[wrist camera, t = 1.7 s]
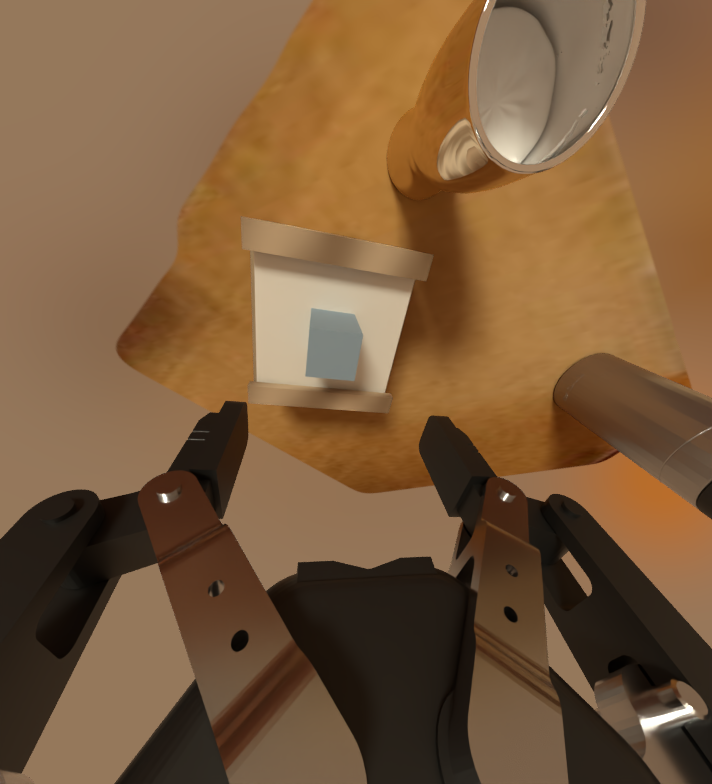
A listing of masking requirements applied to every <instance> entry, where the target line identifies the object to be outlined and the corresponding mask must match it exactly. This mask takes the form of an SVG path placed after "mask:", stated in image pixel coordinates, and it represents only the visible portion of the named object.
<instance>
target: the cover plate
mask: <svg viewBox="0 0 712 784" xmlns="http://www.w3.org/2000/svg"><path fill="white" fill-rule="evenodd" d="M254 275H255V323H256V372H257V382H265V383H277V384H288V385H299V386H311V387H322V388H334V389H345V390H356V391H368V392H379V393H385V389H386V386H387V382H388V378H389V374H390V371H391V367H392V363H393V359H394V355H395V352H396V348H397V344H398V340H399V337H400V333H401V329H402V325H403V322H404V318H405V314H406V310H407V306H408V303H409V299H410V295H411V291H412V288H413V284H414V280H415V279H409V278H403V277H398V276H392V275H386V274H381V273H375V272H369V271H364V270H358V269H353V268H347V267H341V266H336V265H330V264H324V263H319V262H313V261H307V260H302V259H296V258H291V257H285V256H279V255H274V254H268V253H262V252H257V251H254Z"/></svg>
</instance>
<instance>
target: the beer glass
mask: <svg viewBox="0 0 712 784" xmlns="http://www.w3.org/2000/svg"><path fill="white" fill-rule="evenodd" d="M645 10H646V0H473V1H472V3H471V4H470V5H469V7H468V8H467V9H466V11H465V12H464V13H463V15H462V16H461V17H460V19H459V20H458V22H457V23H456V24H455V26H454V27H453V29H452V30H451V31H450V33H449V35H448V36H447V38H446V40H445V41H444V43H443V45H442V46H441V48H440V50H439V51H438V53H437V55H436V56H435V58H434V60H433V62H432V64H431V66H430V68H429V71H428V73H427V75H426V78H425V80H424V82H423V84H422V87H421V90H420V92H419V95H418V98H417V101H416V104H415V107H413V108H411V109H410V110H408V111H407V112H406V113H405V114H404V115H403V116H402V117H401V118H400V120H399V121H398V122H397V124H396V126H395V127H394V129H393V132H392V134H391V137H390V140H389V144H388V151H387V165H388V171H389V175H390V178H391V180H392V182H393V184H394V186H395V187H396V188H397V190H398V191H399V192H400V193H401V194H403V195H404V196H406V197H408V198H410V199H414V200H423V199H427V198H430V197H432V196H434V195H435V194H437V193H438V192H439V191H441V190H442V191H447V192H451V193H465V194H468V193H476V192H482V191H488V190H492V189H495V188H498V187H502V186H505V185H508V184H510V183H513V182H516V181H518V180H521V179H523V178H526V177H528V176H530V175H533V174H535V173H540V172H543V171H546V170H549V169H551V168H553V167H555V166H557V165H559V164H560V163H562V162H564V161H565V160H567V159H568V158H569V157H571V156H572V155H573V154H574V153H576V152H577V151H578V150H579V149H580V148H581V147H582V146H583V145H584V144H585V143H586V142H587V141H588V140H589V139H590V138H591V137H592V136H593V134H594V133H595V132H596V131H597V129H598V128H599V127H600V126H601V124H602V123H603V121H604V120H605V119H606V117H607V116H608V114H609V112H610V111H611V109H612V108H613V106H614V104H615V102H616V101H617V99H618V97H619V95H620V93H621V91H622V89H623V87H624V85H625V83H626V80H627V78H628V76H629V73H630V71H631V68H632V65H633V62H634V59H635V56H636V53H637V50H638V46H639V43H640V38H641V34H642V29H643V24H644V18H645Z"/></svg>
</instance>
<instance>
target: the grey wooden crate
mask: <svg viewBox="0 0 712 784" xmlns="http://www.w3.org/2000/svg"><path fill="white" fill-rule="evenodd" d="M241 234H242V249H245V250H250V258H251V295H252V332H253V369H254V381H250V382H249V384H248V403H253V404H266V405H280V406H294V407H308V408H321V409H335V410H349V411H363V412H377V413H389V410H390V406H391V403H392V399H393V397H392V395H391V393H379V392H368V391H356V390H345V389H334V388H322V387H311V386H299V385H288V384H277V383H265V382H257V372H256V323H255V275H254V251H257V252H262V253H268V254H274V255H279V256H285V257H291V258H296V259H302V260H307V261H313V262H319V263H324V264H330V265H336V266H341V267H347V268H353V269H358V270H364V271H369V272H375V273H381V274H386V275H392V276H398V277H403V278H409V279H415V280H420V281H427V277H428V274H429V270H430V267H431V263H432V260H433V256H434V255H432V254H428V253H423V252H418V251H414V250H409V249H405V248H400V247H395V246H390V245H385V244H380V243H375V242H370V241H365V240H360V239H355V238H350V237H345V236H340V235H335V234H330V233H325V232H320V231H315V230H310V229H305V228H300V227H295V226H290V225H285V224H280V223H275V222H270V221H265V220H259V219H253V218H247V217H241ZM415 280H414V283H415ZM413 287H414V284H413ZM412 291H413V288H412ZM412 291H411V294H412ZM410 298H411V295H410ZM409 302H410V299H409ZM408 306H409V303H408ZM408 306H407V309H408ZM406 313H407V310H406ZM405 317H406V314H405ZM404 321H405V318H404ZM403 324H404V322H403ZM402 328H403V325H402ZM401 332H402V329H401ZM400 336H401V333H400ZM399 339H400V337H399ZM398 343H399V340H398ZM397 347H398V344H397ZM396 351H397V348H396ZM395 354H396V352H395ZM394 358H395V355H394ZM393 362H394V359H393ZM392 366H393V363H392ZM391 369H392V367H391ZM390 373H391V371H390ZM389 377H390V374H389ZM388 381H389V378H388ZM387 384H388V382H387ZM386 388H387V386H386ZM385 392H386V389H385Z"/></svg>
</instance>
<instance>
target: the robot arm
mask: <svg viewBox="0 0 712 784" xmlns="http://www.w3.org/2000/svg"><path fill="white" fill-rule="evenodd" d="M554 400H555V403H556V404H557V405H558V406H559V407H560V408H562V409H563V410H564V411H566V412H567V413H568V414H570V415H571V416H572V417H574V418H575V419H576V420H578V421H579V422H580V423H582V424H583V425H584V426H586V427H587V428H588V429H590V430H591V431H592V432H594V433H595V434H597V435H598V436H599V437H601V438H602V439H603V440H605V441H606V442H607V443H609V444H610V445H611V446H613V447H614V448H615V449H617V450H618V451H620V452H621V453H622V454H624V455H625V456H626V457H628V458H629V459H630V460H632V461H633V462H634V463H636V464H637V465H639V466H640V467H641V468H643V469H644V470H645V471H647V472H648V473H649V474H651V475H652V476H653V477H655V478H656V479H658V480H659V481H660V482H662V483H663V484H665V485H666V486H668V487H669V488H670V489H671V490H673V491H674V492H675V493H677V494H678V495H679V496H681V497H682V498H684V499H685V500H686V501H688V502H689V503H690V504H692V505H693V506H694V507H696V508H697V509H699V510H700V511H701V512H703V513H704V514H705V515H707V516H708V517H709V518H711V519H712V398H711V397H708V396H706V395H703V394H701V393H699V392H697V391H694V390H692V389H690V388H687V387H685V386H683V385H680V384H678V383H676V382H673V381H671V380H669V379H666V378H664V377H662V376H659V375H657V374H655V373H652V372H650V371H648V370H645V369H643V368H641V367H639V366H636V365H634V364H631V363H629V362H627V361H624V360H622V359H620V358H617V357H615V356H613V355H610V354H605V353H602V354H595V355H591V356H589V357H586V358H584V359H582V360H580V361H579V362H577V363H576V364H574V365H573V366H572V367H570V368H569V369H568V370H567V371H566V372H565V373H564V374H563V376H562V377H561V378H560V380H559V381H558V383H557V385H556V388H555V391H554ZM247 440H248V414H247V403H246V402H236V401H225V403H224V405H223V406H222V408H221V410H220V412H219V413H209V414H207V415H206V416H205V417H203V418H202V419H200V420H199V421H198V423H197V424H196V426H195V428H194V429H193V432H192V433H191V434H190V436H189V438H188V440H187V441H186V442H185V444H184V446H183V447H182V449H181V450H180V452H179V454H178V455H177V457H176V459H175V460H174V462H173V463H172V465H171V467H170V468H169V470H168V471H167V472H166V473H163V474H161V475H158V476H156V477H155V478H153V479H151V480H150V481H149V482H147V483H146V484H145V485H144V486H143V488H142V489H141V490H140V491H138V492H134V493H131V494H126V495H122V496H117V497H113V498H108V499H104V500H99V498H98V496H97V495H96V494H95V493H94V492H92V491H89V490H72V491H66V492H63V493H60V494H57V495H54V496H52V497H49V498H47V499H45V500H43V501H42V502H40V503H38V504H37V505H35V506H34V507H32V508H31V509H30V510H28V511H27V512H26V513H25V514H24V515H23V516H22V517H21V518H20V519H19V520H18V521H17V522H16V523H15V524H14V526H13V527H12V528H11V529H10V530H9V531H8V532H7V533H6V534H5V535H4V536H3V537H2V538H1V539H0V784H34V782H33V781H32V780H31V779H30V777H28V776H26V775H24V774H21V773H22V771H23V769H24V767H25V765H26V763H27V761H28V760H29V757H30V756H31V754H32V751H33V750H34V748H35V745H36V744H37V741H38V740H39V738H40V736H41V734H42V732H43V730H44V727H45V726H46V724H47V722H48V720H49V718H50V716H51V714H52V712H53V710H54V708H55V706H56V704H57V702H58V700H59V698H60V696H61V694H62V692H63V690H64V688H65V686H66V684H67V682H68V680H69V678H70V676H71V674H72V672H73V670H74V668H75V666H76V664H77V662H78V660H79V658H80V656H81V654H82V652H83V650H84V648H85V646H86V644H87V643H88V641H89V639H90V637H91V635H92V633H93V631H94V629H95V627H96V625H97V623H98V621H99V619H100V616H101V615H102V613H103V611H104V609H105V607H106V604H107V603H108V601H109V599H110V597H111V595H112V593H113V591H114V589H115V587H116V585H117V583H118V581H119V579H120V577H121V575H122V574H126V573H128V572H132V571H135V570H138V569H140V568H143V567H147V566H150V565H153V564H155V563H158V566H159V569H160V572H161V575H162V578H163V581H164V585H165V588H166V591H167V594H168V597H169V599H170V603H171V606H172V609H173V611H174V615H175V618H176V621H177V624H178V627H179V630H180V633H181V636H182V639H183V642H184V645H185V648H186V651H187V654H188V657H189V660H190V663H191V666H192V669H193V672H194V675H195V678H196V679H195V680H194V681H193V682H192V684H191V685H190V686H189V688H188V689H187V690H186V692H185V693H184V694H183V696H182V697H181V698H180V699H179V701H178V702H177V703H176V704H175V706H174V707H173V708H172V710H171V711H170V712H169V714H168V715H167V716H166V718H165V719H164V720H163V721H162V723H161V724H160V725H159V727H158V728H157V729H156V730H155V732H154V733H153V734H152V736H151V737H150V738H149V740H148V741H147V742H146V744H145V745H144V746H143V747H142V749H141V750H140V751H139V753H138V754H137V755H136V756H135V758H134V759H133V760H132V762H131V763H130V764H129V766H128V767H127V768H126V769H125V771H124V772H123V773H122V775H121V776H120V777H119V778H118V780H117V781H116V782H115V784H712V649H711V648H710V646H709V645H708V644H707V643H706V642H705V641H704V640H703V639H702V638H701V637H700V636H699V634H698V633H697V632H696V631H695V630H694V629H693V628H692V627H691V626H690V624H689V623H688V622H687V621H686V620H685V619H684V618H683V617H682V615H681V614H680V613H679V612H678V611H677V610H676V609H675V608H674V607H673V606H672V604H671V603H670V602H669V601H668V600H667V599H666V598H665V597H664V596H663V595H662V593H661V592H660V591H659V590H658V589H657V588H656V587H655V586H654V585H653V584H652V582H651V581H650V580H649V579H648V578H647V577H646V576H645V575H644V573H643V572H642V571H641V570H640V569H639V568H638V567H637V566H636V565H635V563H634V562H633V561H632V560H631V559H630V558H629V557H628V556H627V555H626V554H625V553H624V551H623V550H622V549H621V548H620V547H619V546H618V545H617V544H616V543H615V541H614V540H613V539H612V538H611V537H610V536H609V535H608V534H607V533H606V532H605V530H604V529H603V528H602V527H601V526H600V525H599V524H598V523H597V521H596V520H595V519H594V518H593V517H592V516H591V515H590V514H589V513H588V511H586V509H584V508H583V507H582V506H581V505H580V504H578V503H577V502H576V501H574V500H572V499H571V498H568V497H566V496H564V495H560V494H552V495H550V496H549V498H548V499H547V500H546V501H545V502H542V501H539V500H535V499H532V498H528V497H526V496H525V494H524V493H523V491H522V490H521V489H519V487H517V486H516V485H515V484H513V483H512V482H510V481H508V480H506V479H504V478H500V477H497V476H496V475H495V473H494V472H493V470H492V469H491V468H490V466H489V465H488V464H487V462H486V461H485V460H484V458H483V457H482V455H481V454H480V453H478V450H477V449H476V447H475V446H473V443H472V442H471V440H470V439H469V438H468V436H467V435H466V434H465V433H463V432H462V431H461V430H460V429H458V428H456V427H455V426H454V424H453V423H452V421H451V420H450V419H449V417H446V416H430V417H429V418H428V421H427V423H426V426H425V429H424V431H423V434H422V436H421V439H420V442H419V451H420V455H421V457H422V459H423V461H424V463H425V465H426V468H427V470H428V472H429V474H430V476H431V479H432V481H433V483H434V485H435V487H436V489H437V491H438V494H439V496H440V498H441V500H442V502H443V505H444V507H445V509H446V511H447V513H448V516H449V517H461V518H462V520H463V521H462V523H461V525H460V528H459V531H458V536H457V540H456V544H455V548H454V553H453V557H452V561H451V565H450V568H449V571H448V573H446V572H444V571H442V570H439V569H436V568H434V565H433V562H432V559H431V557H410V558H399V559H396V560H394V561H391V562H388V563H385V564H383V565H380V566H378V567H375V568H372V569H365V568H361V567H357V566H353V565H348V564H344V563H340V562H336V561H319V562H298V568H297V574H294V575H292V576H289V577H287V578H285V579H283V580H281V581H279V582H278V583H276V584H275V585H273V586H272V587H271V588H269V589H268V590H267V591H266V590H265V589H264V587H263V585H262V583H261V582H260V580H259V578H258V576H257V575H256V573H255V571H254V569H253V568H252V566H251V564H250V562H249V561H248V559H247V557H246V555H245V554H244V552H243V550H242V548H241V546H240V545H239V543H238V541H237V539H236V538H235V536H234V534H233V532H232V531H231V529H230V528H229V527H228V525H227V524H224V525H223V524H222V523H221V521H220V520H219V519H222V518H223V516H224V514H225V511H226V508H227V505H228V501H229V499H230V495H231V492H232V489H233V486H234V483H235V480H236V477H237V474H238V470H239V468H240V465H241V462H242V459H243V455H244V452H245V449H246V446H247ZM568 551H570V553H571V554H572V555H573V557H574V558H575V559H576V561H577V562H578V564H579V565H580V566H581V568H582V569H583V570H584V572H585V573H586V575H587V576H588V577H589V579H590V581H591V584H592V593H591V595H590V596H587V595H586V593H585V592H584V591H583V589H582V588H581V586H580V585H579V584H578V582H577V581H576V579H575V578H574V576H573V575H572V573H571V572H570V570H569V569H568V567H567V566H566V565H565V563H564V562H563V560H562V559H561V558H562V557H563V556H564V555H565V554H566V553H567V552H568ZM544 604H545V606H546V608H547V609H548V611H549V613H550V615H551V616H552V618H553V620H554V622H555V623H556V625H557V627H558V629H559V631H560V632H561V634H562V636H563V638H564V640H565V641H566V643H567V645H568V646H569V648H570V650H571V652H572V654H573V656H574V657H575V659H576V661H577V663H578V664H579V666H580V668H581V670H582V672H583V673H584V675H585V677H586V679H587V680H588V682H589V684H590V686H591V688H592V689H593V691H594V694H595V699H596V703H597V706H598V708H597V709H595V710H594V709H593V708H592V707H591V706H590V705H589V704H588V703H587V702H586V701H585V700H584V699H583V698H582V697H581V696H579V694H577V692H575V691H574V690H573V689H572V688H571V687H570V686H569V685H568V684H567V683H566V682H565V681H564V680H563V679H562V678H561V677H560V676H559V675H558V674H557V673H556V672H555V671H554V670H553V669H552V668H551V667H550V666H549V664H548V651H547V637H546V623H545V609H544Z"/></svg>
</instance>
